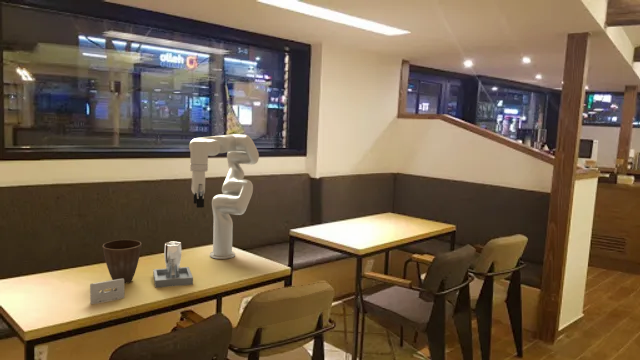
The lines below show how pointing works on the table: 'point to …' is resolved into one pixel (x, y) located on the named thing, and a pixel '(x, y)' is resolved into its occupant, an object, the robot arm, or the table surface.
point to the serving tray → (161, 281)
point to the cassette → (109, 295)
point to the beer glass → (172, 259)
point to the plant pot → (122, 258)
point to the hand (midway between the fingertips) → (198, 205)
